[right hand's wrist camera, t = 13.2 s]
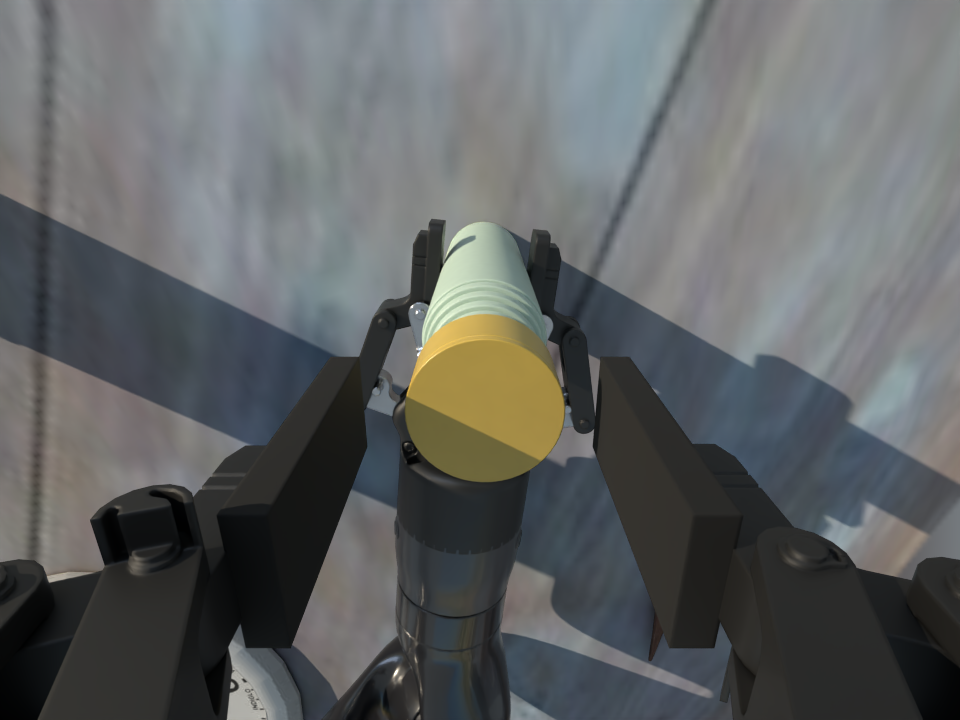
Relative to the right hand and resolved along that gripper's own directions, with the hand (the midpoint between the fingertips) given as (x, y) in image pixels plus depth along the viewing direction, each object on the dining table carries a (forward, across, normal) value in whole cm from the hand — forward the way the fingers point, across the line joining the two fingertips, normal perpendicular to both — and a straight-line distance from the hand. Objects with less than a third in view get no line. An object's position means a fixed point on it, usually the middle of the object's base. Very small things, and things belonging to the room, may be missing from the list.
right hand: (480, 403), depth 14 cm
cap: (-1, 0, 0) cm, 1 cm away
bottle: (+20, 0, 0) cm, 20 cm away
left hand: (+13, 0, -3) cm, 14 cm away
